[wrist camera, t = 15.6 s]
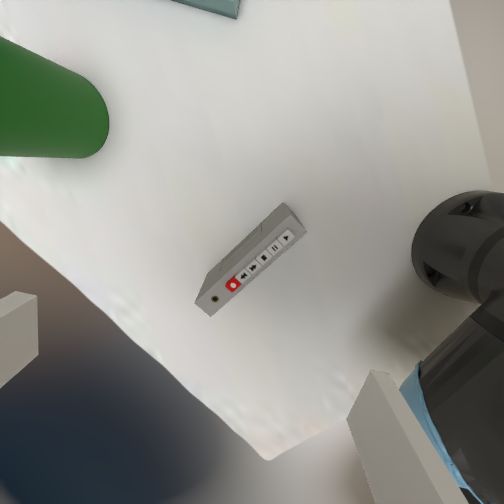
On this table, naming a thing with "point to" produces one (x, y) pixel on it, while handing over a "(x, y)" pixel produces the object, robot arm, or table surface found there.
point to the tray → (215, 6)
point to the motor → (47, 108)
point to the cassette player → (249, 258)
